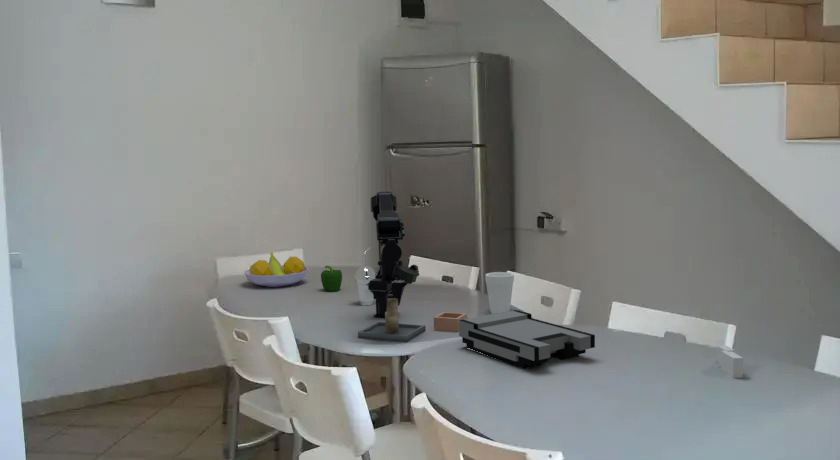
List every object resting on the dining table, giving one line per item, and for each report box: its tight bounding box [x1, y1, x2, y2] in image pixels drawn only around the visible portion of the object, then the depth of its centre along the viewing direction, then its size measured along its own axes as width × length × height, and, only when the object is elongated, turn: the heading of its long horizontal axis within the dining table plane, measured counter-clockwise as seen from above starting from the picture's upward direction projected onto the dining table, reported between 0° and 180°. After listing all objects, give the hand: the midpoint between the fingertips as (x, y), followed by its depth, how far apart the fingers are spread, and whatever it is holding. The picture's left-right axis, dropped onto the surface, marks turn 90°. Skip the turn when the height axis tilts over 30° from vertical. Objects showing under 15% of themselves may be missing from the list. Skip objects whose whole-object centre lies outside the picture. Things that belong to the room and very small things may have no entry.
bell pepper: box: [320, 265, 343, 292], centre depth 317 cm, size 8×8×10 cm
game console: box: [458, 309, 596, 370], centre depth 219 cm, size 21×32×8 cm, turn 33°
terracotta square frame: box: [433, 311, 468, 333], centre depth 250 cm, size 8×8×4 cm
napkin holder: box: [716, 344, 744, 379], centre depth 200 cm, size 15×11×6 cm
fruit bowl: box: [243, 252, 310, 288], centre depth 335 cm, size 28×27×11 cm
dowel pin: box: [384, 298, 400, 334], centre depth 244 cm, size 4×4×10 cm
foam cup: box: [484, 271, 515, 315], centre depth 270 cm, size 10×9×13 cm
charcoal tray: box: [357, 321, 426, 343], centre depth 244 cm, size 16×14×2 cm
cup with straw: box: [353, 246, 376, 306], centre depth 289 cm, size 8×9×20 cm
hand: (391, 308), depth 244 cm, fingers open, 9 cm apart
